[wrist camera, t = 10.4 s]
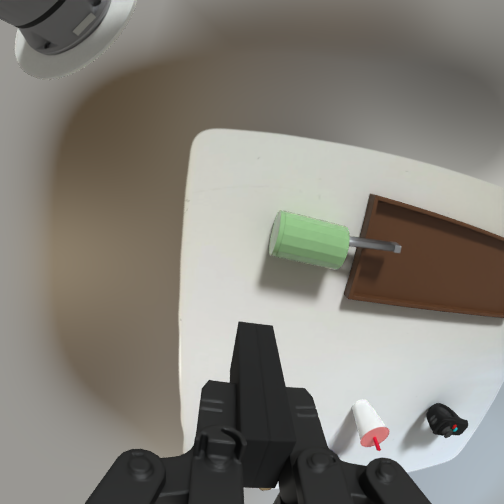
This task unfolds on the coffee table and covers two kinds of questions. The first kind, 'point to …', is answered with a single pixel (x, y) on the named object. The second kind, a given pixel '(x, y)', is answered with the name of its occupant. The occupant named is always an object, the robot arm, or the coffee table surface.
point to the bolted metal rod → (374, 244)
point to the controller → (445, 421)
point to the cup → (369, 424)
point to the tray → (428, 262)
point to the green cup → (309, 240)
